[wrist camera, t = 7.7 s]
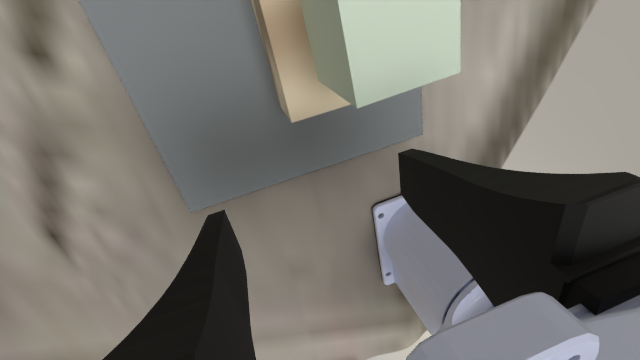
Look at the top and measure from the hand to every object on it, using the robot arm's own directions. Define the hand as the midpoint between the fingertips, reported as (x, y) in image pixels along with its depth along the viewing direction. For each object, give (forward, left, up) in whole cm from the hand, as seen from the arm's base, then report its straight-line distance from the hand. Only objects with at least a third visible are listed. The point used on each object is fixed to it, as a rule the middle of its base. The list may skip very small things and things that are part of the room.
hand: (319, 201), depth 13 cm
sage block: (+5, -5, -6) cm, 9 cm away
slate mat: (+3, -1, -9) cm, 10 cm away
